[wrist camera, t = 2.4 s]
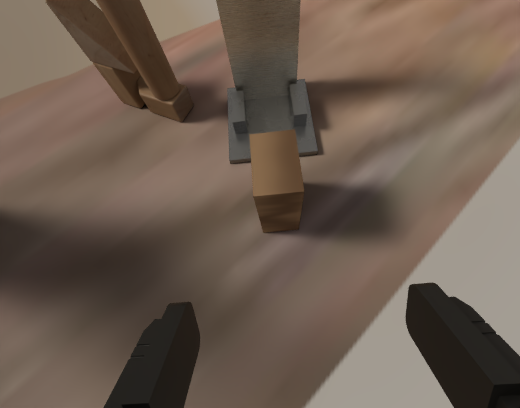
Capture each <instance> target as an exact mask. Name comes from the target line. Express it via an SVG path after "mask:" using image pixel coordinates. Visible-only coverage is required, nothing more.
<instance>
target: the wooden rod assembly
mask: <svg viewBox="0 0 520 408" xmlns="http://www.w3.org/2000/svg"><path fill="white" fill-rule="evenodd" d="M96 1H97V3H98V4H99V6H100V8H101V9H102V11H103V12H102V11H101V10H100V9H99V8H98V7H97V6H96V5H94V4H93V3H92V2H91V1H90V0H46V3H47V5H48V6H49V7H50V8H51V10H52V11H53V12H54V14H55V15H56V16H57V18H58V19H59V20H60V22H61V23H62V24H63V25H64V27H65V28H66V29H67V31H68V32H69V33H70V34H71V36H72V37H73V38H74V40H75V41H76V42H77V44H78V45H79V46H80V48H81V49H82V50H83V52H84V53H85V54H86V55H87V57H88V58H89V59H90V61H92V62H93V64H94V65H95V67H96V68H97V69H98V71H99V72H100V73H101V75H102V76H103V77H104V79H105V80H106V81H107V82H108V84H109V85H110V86H111V88H112V89H113V90H114V92H115V93H116V94H117V96H118V97H119V98H120V99H121V101H122V102H123V103H125V104H128V105H131V106H134V107H137V108H142V107H143V106H144V104H146V105H147V107H148V108H149V110H150V111H151V112H153V113H156V114H159V115H162V116H165V117H168V118H171V119H173V120H176V121H179V122H182V121H183V120H184V119H185V117H186V116H187V114H188V113H189V111H190V110H191V108H192V107H193V105H194V103H193V101H192V99H191V96H190V94H189V92H188V89H187V87H186V86H185V85H182V84H178V82H177V80H176V78H175V75H174V73H173V71H172V69H171V67H170V65H169V62H168V60H167V58H166V56H165V54H164V52H163V49H162V47H161V45H160V43H159V41H158V39H157V37H156V34H155V32H154V30H153V28H152V26H151V24H150V21H149V19H148V17H147V15H146V13H145V11H144V9H143V6H142V4H141V2H140V0H96Z"/></svg>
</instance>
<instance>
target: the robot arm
mask: <svg viewBox="0 0 520 408" xmlns="http://www.w3.org/2000/svg"><path fill="white" fill-rule="evenodd" d="M406 325H407V328H408V331H409V334H410V336H411V337H412V339H413V341H414V342H415V344H416V346H417V347H418V349H419V351H420V352H421V354H422V356H423V357H424V359H425V360H426V362H427V364H428V365H429V367H430V369H431V370H432V372H433V374H434V375H435V377H436V379H437V380H438V382H439V383H440V385H441V387H442V389H443V390H444V392H445V394H446V395H447V397H448V398H449V400H450V402H451V403H452V405H453V406H454V408H520V356H519V355H518V354H517V353H516V352H515V351H514V350H513V349H512V348H511V347H510V346H509V345H508V344H507V343H506V342H505V341H504V340H503V339H502V338H501V337H500V336H499V335H497V334H496V332H495V331H494V330H493V329H492V327H491V326H490V325H489V324H488V323H485V321H484V319H483V318H482V317H481V316H480V315H479V314H478V313H477V312H476V311H475V310H474V309H473V308H472V307H471V306H469V305H467V304H466V303H464V302H462V301H461V300H459V299H458V298H456V297H448V296H447V295H446V294H445V293H444V292H443V290H442V289H441V288H440V287H439V286H438V285H437V284H435V283H424V284H412V285H410V286H409V290H408V300H407V309H406ZM199 346H200V333H199V329H198V325H197V321H196V318H195V314H194V310H193V307H192V304H191V302H181V303H170V304H169V305H168V306H167V308H166V310H165V313H164V315H163V317H162V319H155V320H154V321H153V322H152V323H151V324H150V325H149V326H148V327H147V328H146V329H145V330H144V331H143V333H142V335H141V337H140V339H139V341H138V343H137V347H135V349H134V351H133V353H132V354H131V358H130V359H129V360H128V362H127V364H126V366H125V368H124V370H123V372H122V374H121V375H120V377H119V379H118V381H117V383H116V385H115V387H114V389H113V391H112V393H111V395H110V397H109V398H108V400H107V402H106V404H105V406H104V408H184V404H185V400H186V397H187V393H188V389H189V385H190V382H191V378H192V374H193V370H194V366H195V363H196V359H197V355H198V351H199Z"/></svg>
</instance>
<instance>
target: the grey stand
mask: <svg viewBox="0 0 520 408" xmlns="http://www.w3.org/2000/svg"><path fill="white" fill-rule="evenodd" d="M216 1H217V6H218V11H219V15H220V20H221V24H222V29H223V33H224V38H225V42H226V47H227V51H228V56H229V61H230V65H231V70H232V74H233V79H234V83H235V88H228V89H227V94H228V130H229V161H230V164H233V163H243V162H251V151H250V136H249V134H258V133H267V132H275V131H284V130H293V129H295V132H296V139H297V146H298V152H299V156H307V155H317V152H318V149H317V144H316V138H315V133H314V127H313V122H312V116H311V111H310V105H309V100H308V95H307V89H306V84H305V79H301V80H297V64H298V43H299V21H300V0H216Z"/></svg>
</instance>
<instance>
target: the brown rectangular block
mask: <svg viewBox="0 0 520 408" xmlns="http://www.w3.org/2000/svg"><path fill="white" fill-rule="evenodd" d="M249 136H250V151H251V166H252V182H253V197H254V200H255V204H256V208H257V211H258V215H259V219H260V222H261V226H262V230H263V233H265V232H276V231H287V230H298V229H299V224H300V217H301V210H302V203H303V197H304V186H303V179H302V173H301V166H300V159H299V152H298V146H297V139H296V132H295V129H293V130H284V131H275V132H267V133H258V134H249Z"/></svg>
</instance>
